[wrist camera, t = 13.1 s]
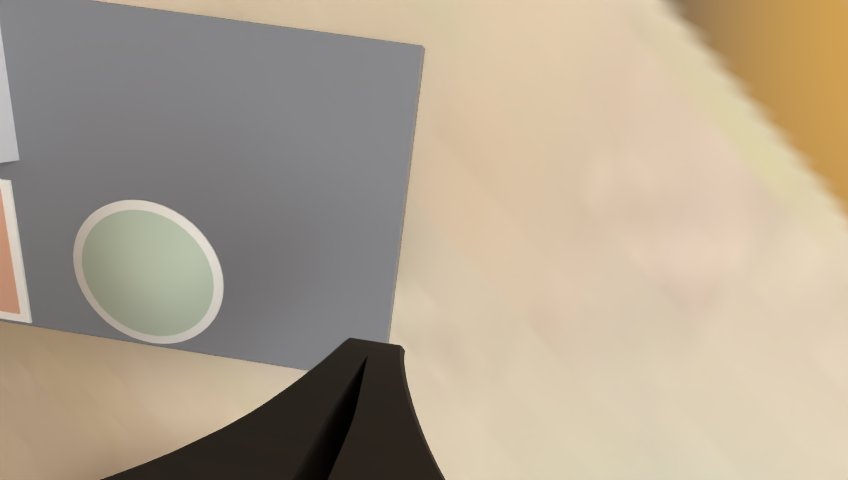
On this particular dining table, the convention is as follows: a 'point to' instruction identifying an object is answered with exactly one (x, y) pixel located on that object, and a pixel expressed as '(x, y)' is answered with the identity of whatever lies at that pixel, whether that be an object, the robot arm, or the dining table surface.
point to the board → (201, 179)
